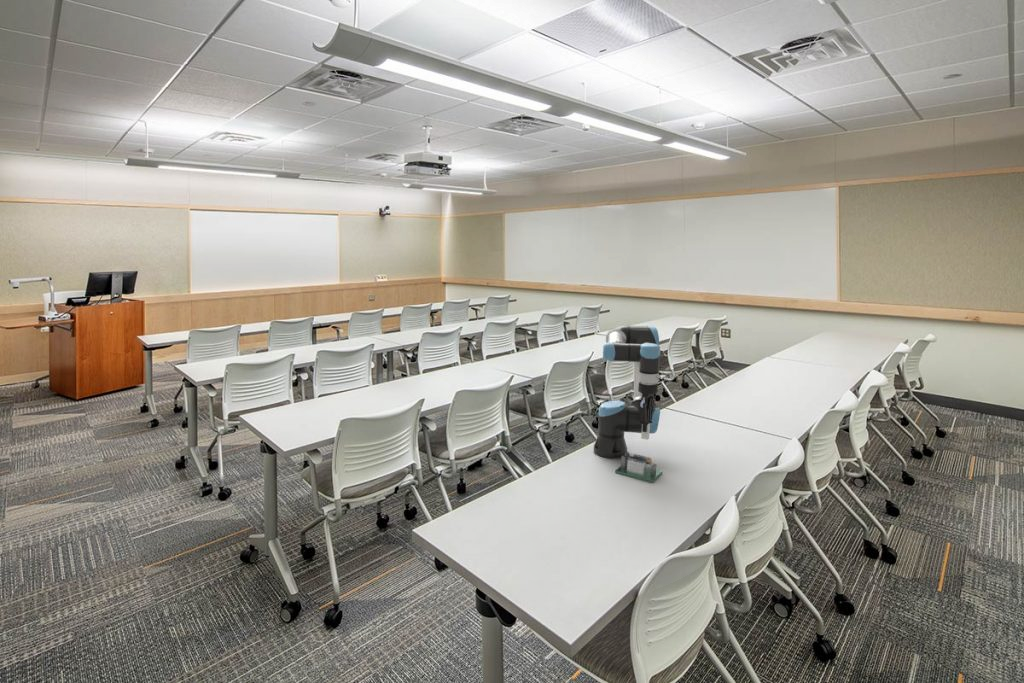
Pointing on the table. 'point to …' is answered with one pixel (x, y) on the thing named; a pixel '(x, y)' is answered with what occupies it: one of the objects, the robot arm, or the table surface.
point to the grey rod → (640, 459)
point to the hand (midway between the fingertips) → (645, 438)
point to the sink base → (638, 469)
